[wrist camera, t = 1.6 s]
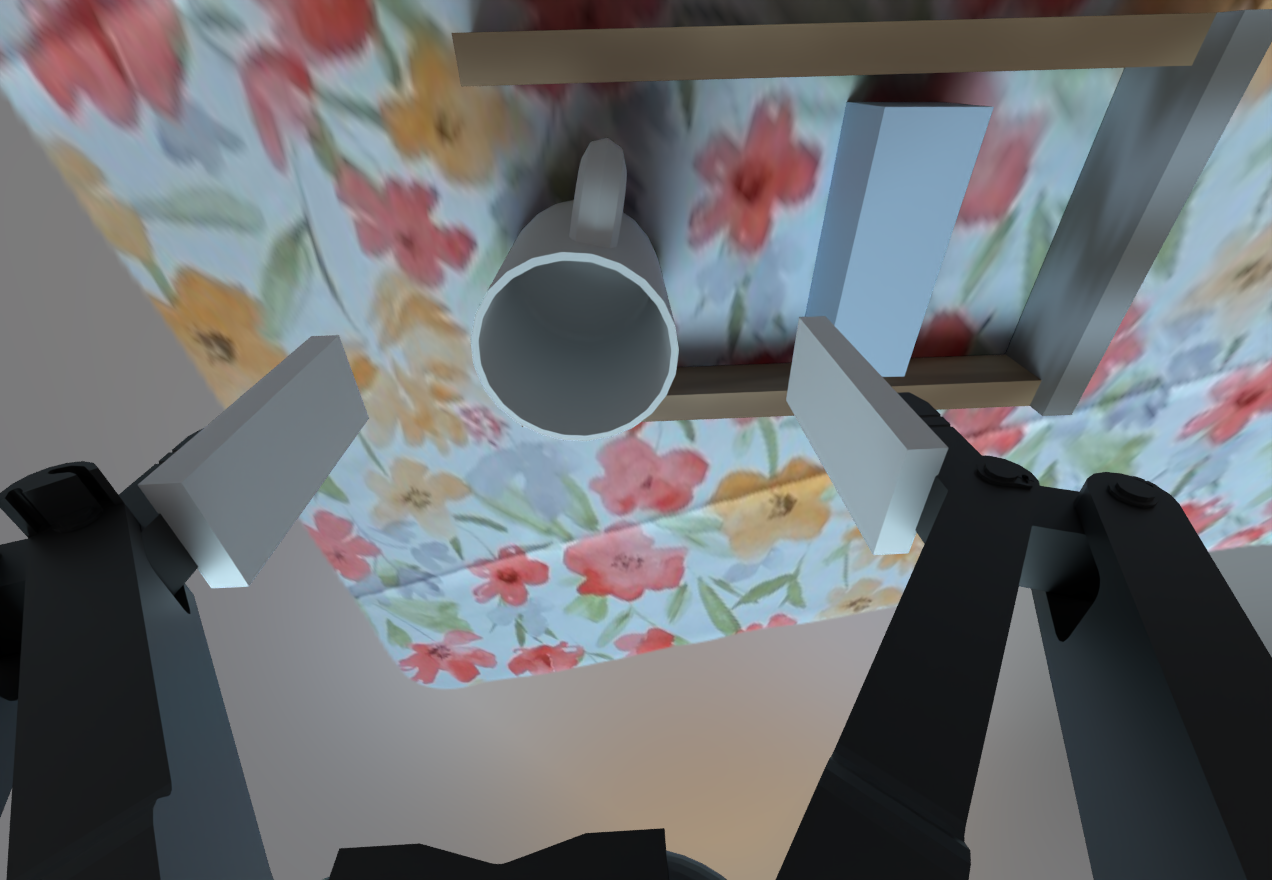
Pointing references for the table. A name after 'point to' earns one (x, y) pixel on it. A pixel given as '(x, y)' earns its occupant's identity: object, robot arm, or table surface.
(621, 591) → the table surface
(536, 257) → the cup
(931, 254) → the block
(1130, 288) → the channel
